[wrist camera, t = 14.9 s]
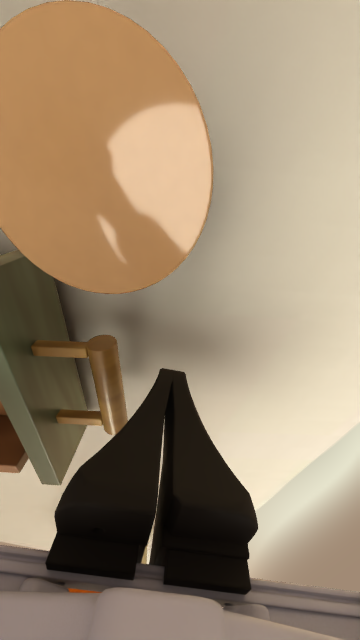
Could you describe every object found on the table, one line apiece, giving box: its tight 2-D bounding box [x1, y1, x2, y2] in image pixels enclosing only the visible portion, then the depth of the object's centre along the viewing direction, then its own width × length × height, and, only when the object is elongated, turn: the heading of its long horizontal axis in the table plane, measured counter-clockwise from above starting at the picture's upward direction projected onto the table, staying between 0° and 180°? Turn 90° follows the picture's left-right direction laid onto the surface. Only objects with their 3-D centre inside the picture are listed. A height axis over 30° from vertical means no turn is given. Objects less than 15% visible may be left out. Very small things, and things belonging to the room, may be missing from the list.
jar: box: [0, 0, 213, 294], centre depth 8 cm, size 5×5×8 cm
